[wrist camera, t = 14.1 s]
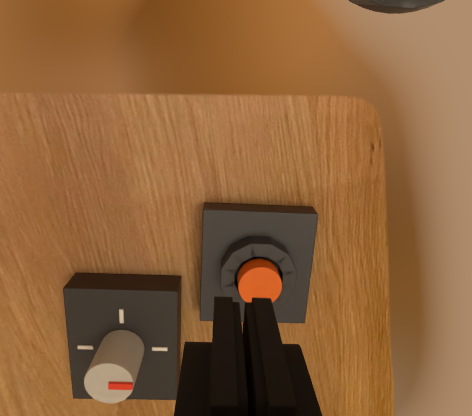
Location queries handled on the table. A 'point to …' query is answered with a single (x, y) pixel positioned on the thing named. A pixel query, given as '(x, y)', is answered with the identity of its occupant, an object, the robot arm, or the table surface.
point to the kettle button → (259, 280)
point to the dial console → (126, 327)
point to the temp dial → (115, 367)
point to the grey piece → (257, 253)
